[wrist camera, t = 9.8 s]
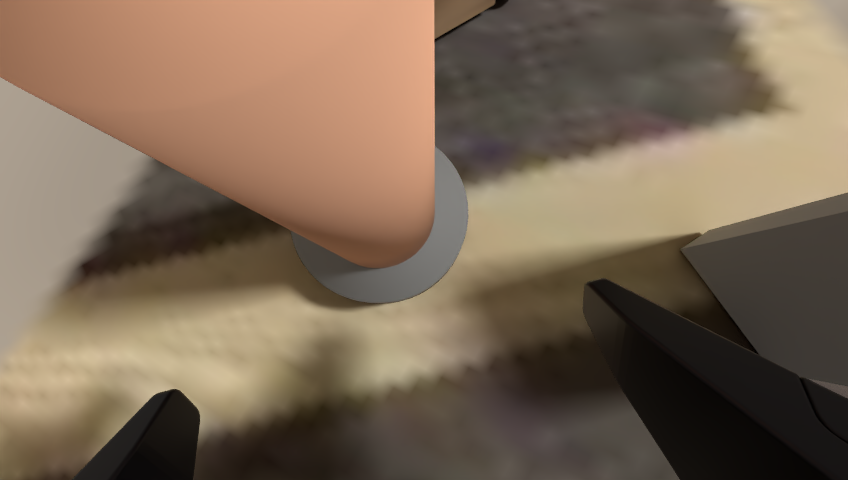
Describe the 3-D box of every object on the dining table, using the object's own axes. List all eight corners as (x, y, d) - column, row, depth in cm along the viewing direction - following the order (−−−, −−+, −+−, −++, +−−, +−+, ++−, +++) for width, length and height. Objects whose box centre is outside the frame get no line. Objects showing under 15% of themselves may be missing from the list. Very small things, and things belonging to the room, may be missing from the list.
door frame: (802, 350, 15) (1546, 442, 5) (771, 371, 15) (1469, 507, 5) (469, -80, 19) (511, -527, 9) (444, -66, 19) (455, -501, 9)
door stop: (489, 269, 16) (755, 92, 3) (330, 327, 16) (-225, 440, 3) (432, 122, 17) (424, -503, 4) (283, 174, 17) (-262, -299, 4)
